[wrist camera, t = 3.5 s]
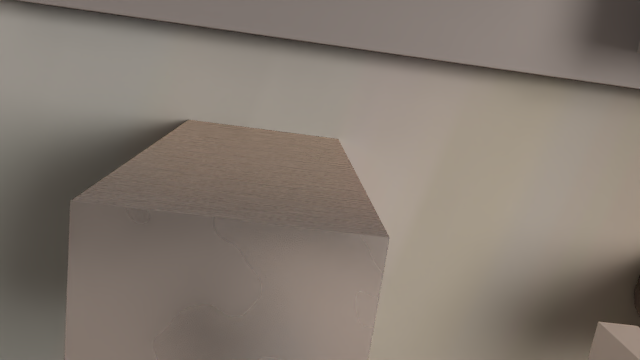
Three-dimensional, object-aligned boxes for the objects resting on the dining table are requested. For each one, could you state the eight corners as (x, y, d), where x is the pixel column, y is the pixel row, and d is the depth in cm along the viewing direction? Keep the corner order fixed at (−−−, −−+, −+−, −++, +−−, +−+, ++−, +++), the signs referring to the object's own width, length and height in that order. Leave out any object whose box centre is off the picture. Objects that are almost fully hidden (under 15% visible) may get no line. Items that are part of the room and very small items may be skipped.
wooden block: (174, 287, 19) (58, 524, 10) (188, 119, 18) (70, 200, 8) (314, 301, 20) (335, 543, 10) (338, 139, 19) (389, 237, 9)
